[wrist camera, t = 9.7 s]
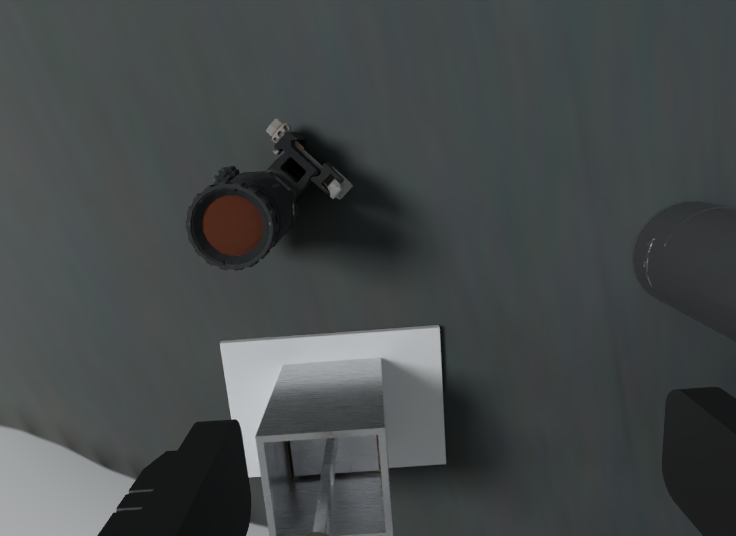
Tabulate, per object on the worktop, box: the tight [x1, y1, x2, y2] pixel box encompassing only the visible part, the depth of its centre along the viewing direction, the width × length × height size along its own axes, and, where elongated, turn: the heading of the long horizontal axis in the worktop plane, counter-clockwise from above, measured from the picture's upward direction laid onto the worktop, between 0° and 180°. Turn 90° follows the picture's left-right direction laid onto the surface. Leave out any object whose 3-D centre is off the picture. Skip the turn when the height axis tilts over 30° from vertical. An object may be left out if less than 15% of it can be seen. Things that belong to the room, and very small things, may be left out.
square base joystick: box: [255, 358, 393, 536], centre depth 43 cm, size 9×9×12 cm
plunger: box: [290, 435, 379, 536], centre depth 36 cm, size 7×7×17 cm
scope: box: [186, 118, 353, 271], centre depth 38 cm, size 8×14×10 cm
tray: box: [220, 325, 446, 477], centre depth 49 cm, size 20×14×1 cm
